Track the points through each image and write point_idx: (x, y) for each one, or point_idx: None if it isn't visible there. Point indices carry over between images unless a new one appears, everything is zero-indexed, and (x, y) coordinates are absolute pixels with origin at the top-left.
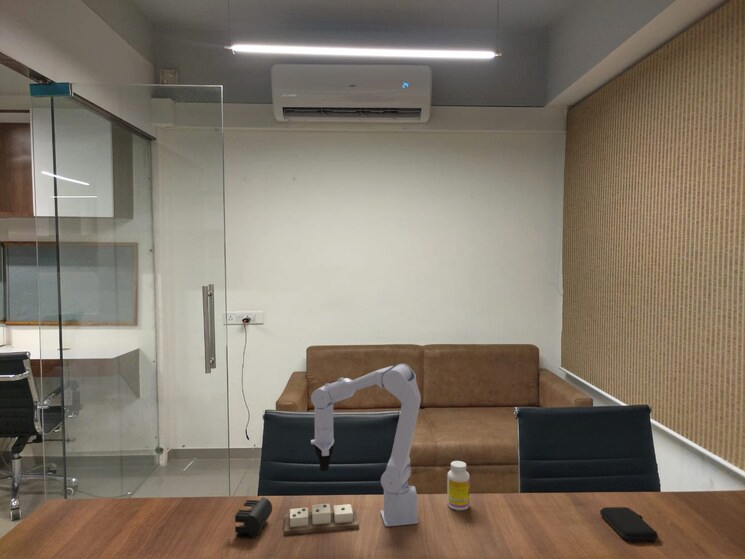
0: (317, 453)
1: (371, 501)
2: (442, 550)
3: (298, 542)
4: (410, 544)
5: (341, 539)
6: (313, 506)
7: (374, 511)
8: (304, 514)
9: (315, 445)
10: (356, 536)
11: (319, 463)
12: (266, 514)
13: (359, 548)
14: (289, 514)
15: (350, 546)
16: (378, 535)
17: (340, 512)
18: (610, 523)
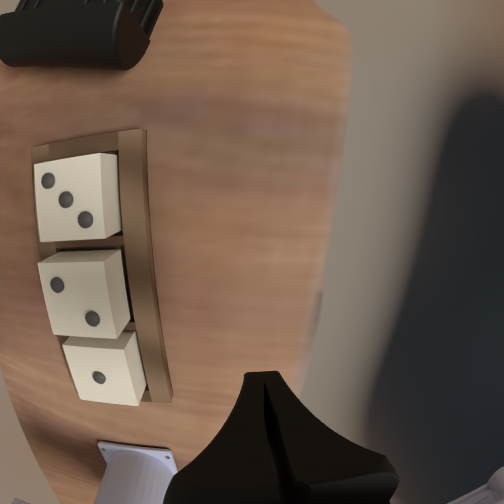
0: (173, 482)
1: None
2: (50, 480)
3: (9, 203)
4: (50, 453)
5: (29, 332)
6: (89, 268)
7: (177, 437)
8: (55, 225)
9: (390, 474)
10: (47, 371)
11: (238, 403)
12: (54, 61)
13: (9, 365)
14: (133, 148)
15: (10, 348)
16: (63, 417)
17: (77, 365)
18: None
